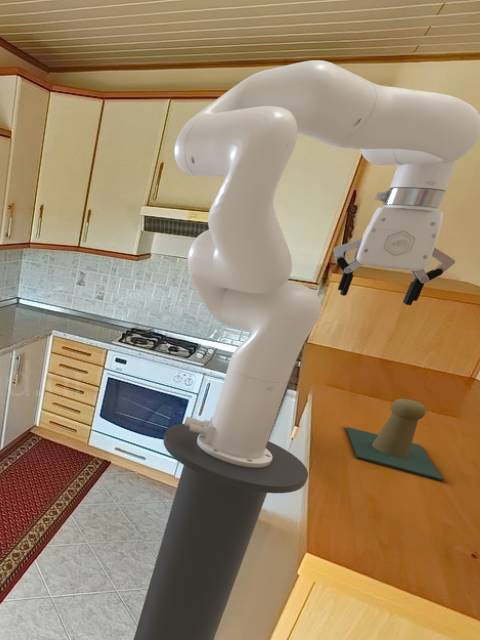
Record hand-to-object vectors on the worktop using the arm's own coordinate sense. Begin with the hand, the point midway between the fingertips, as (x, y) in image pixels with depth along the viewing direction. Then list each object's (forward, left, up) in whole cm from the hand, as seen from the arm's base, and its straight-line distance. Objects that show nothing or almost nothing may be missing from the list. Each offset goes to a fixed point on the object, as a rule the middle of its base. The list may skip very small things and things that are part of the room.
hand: (374, 299), depth 90 cm
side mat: (+13, +7, -30) cm, 34 cm away
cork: (+13, +7, -30) cm, 33 cm away
